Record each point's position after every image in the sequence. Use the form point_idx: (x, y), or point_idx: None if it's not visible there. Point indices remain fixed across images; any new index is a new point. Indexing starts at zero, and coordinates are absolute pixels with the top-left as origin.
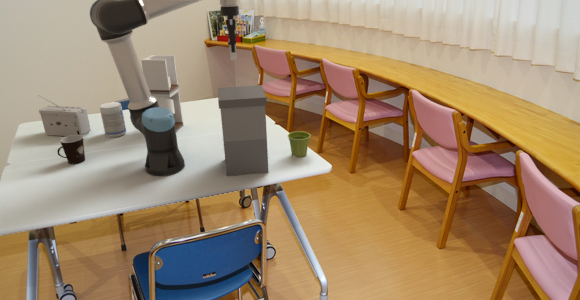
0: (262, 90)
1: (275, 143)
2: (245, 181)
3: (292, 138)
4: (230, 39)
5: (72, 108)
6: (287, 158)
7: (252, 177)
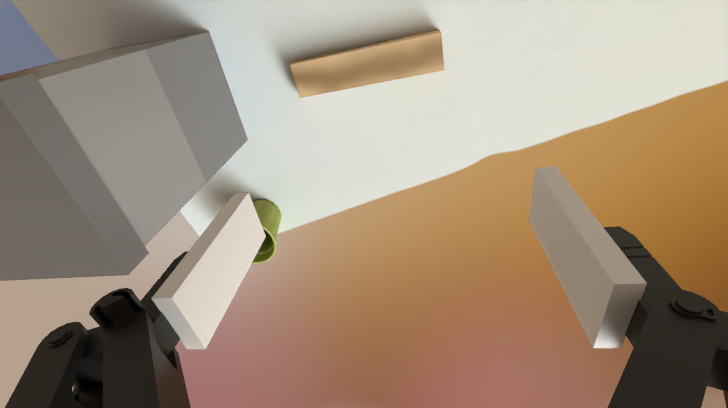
0: (54, 274)
1: (330, 165)
2: None
3: (266, 221)
4: (34, 380)
5: None
6: (241, 189)
7: None
